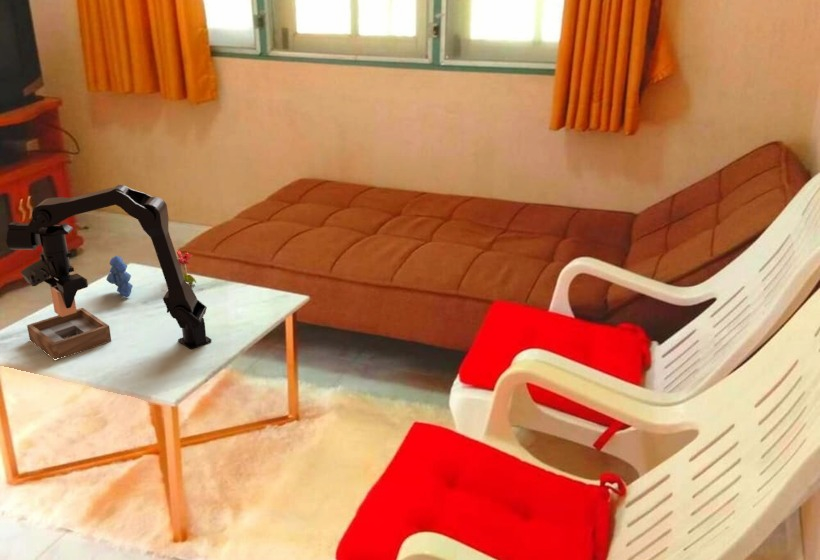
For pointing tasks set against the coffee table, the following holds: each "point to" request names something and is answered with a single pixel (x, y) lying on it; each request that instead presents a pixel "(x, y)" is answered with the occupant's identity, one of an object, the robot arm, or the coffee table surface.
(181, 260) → the bird rattle
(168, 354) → the coffee table surface
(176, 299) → the robot arm
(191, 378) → the coffee table surface
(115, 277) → the grapes
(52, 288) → the peg
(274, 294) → the coffee table surface
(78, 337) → the socket box
